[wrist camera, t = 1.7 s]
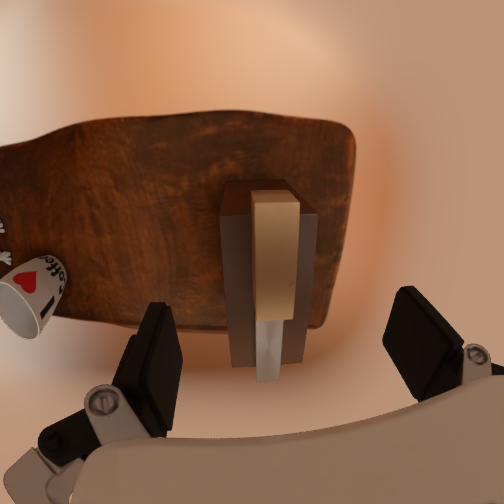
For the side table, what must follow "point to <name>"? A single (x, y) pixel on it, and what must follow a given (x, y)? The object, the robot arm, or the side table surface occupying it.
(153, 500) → the robot arm
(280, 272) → the knife
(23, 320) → the cup
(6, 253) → the figurine
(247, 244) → the dark rectangular block
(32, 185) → the side table surface
